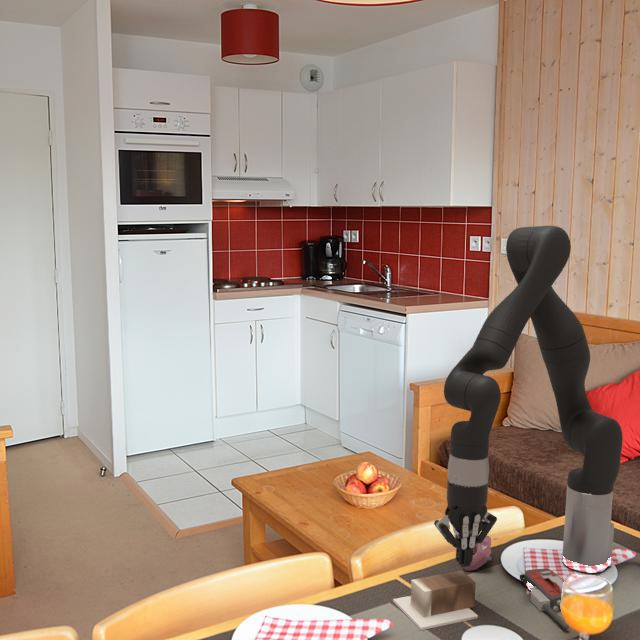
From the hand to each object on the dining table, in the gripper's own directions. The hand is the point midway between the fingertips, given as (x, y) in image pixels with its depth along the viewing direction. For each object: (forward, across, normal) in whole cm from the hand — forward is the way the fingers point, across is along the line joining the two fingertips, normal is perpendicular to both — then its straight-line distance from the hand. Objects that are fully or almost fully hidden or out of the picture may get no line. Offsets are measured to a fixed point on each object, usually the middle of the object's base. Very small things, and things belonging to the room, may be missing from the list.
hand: (463, 564), depth 151 cm
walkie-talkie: (+9, -17, +6) cm, 20 cm away
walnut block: (+5, -1, 0) cm, 5 cm away
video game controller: (+8, -13, -14) cm, 21 cm away
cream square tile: (+8, +6, 0) cm, 10 cm away
